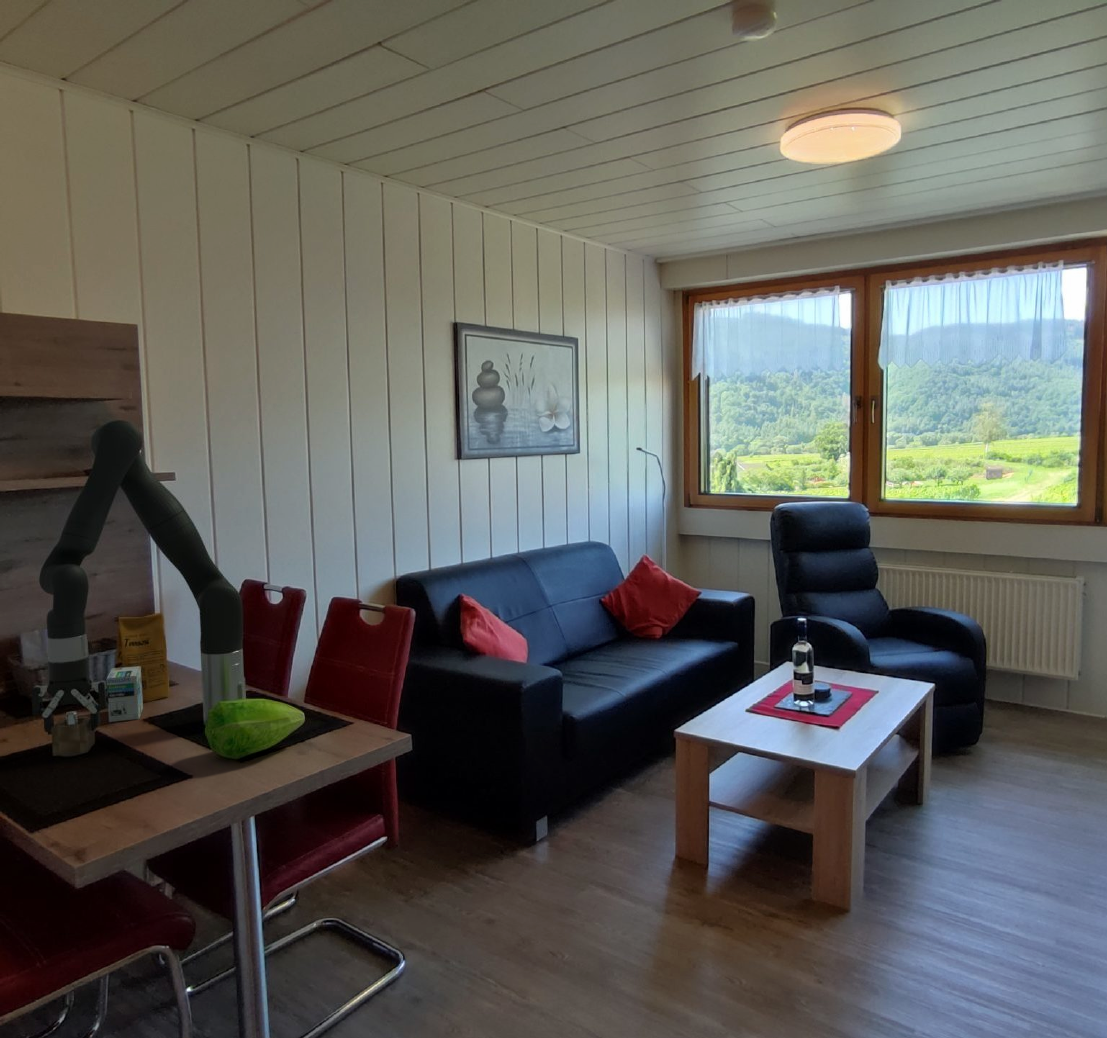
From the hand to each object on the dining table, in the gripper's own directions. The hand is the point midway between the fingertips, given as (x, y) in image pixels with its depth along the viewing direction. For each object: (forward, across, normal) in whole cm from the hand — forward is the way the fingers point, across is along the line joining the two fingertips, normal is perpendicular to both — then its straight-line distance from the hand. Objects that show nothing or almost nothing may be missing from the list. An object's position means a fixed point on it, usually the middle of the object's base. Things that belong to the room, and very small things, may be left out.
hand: (72, 731), depth 178 cm
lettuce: (+5, -38, +12) cm, 40 cm away
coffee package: (+5, -6, -39) cm, 40 cm away
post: (+5, 0, 0) cm, 5 cm away
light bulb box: (+5, -5, -25) cm, 26 cm away
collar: (+4, 0, 0) cm, 4 cm away
